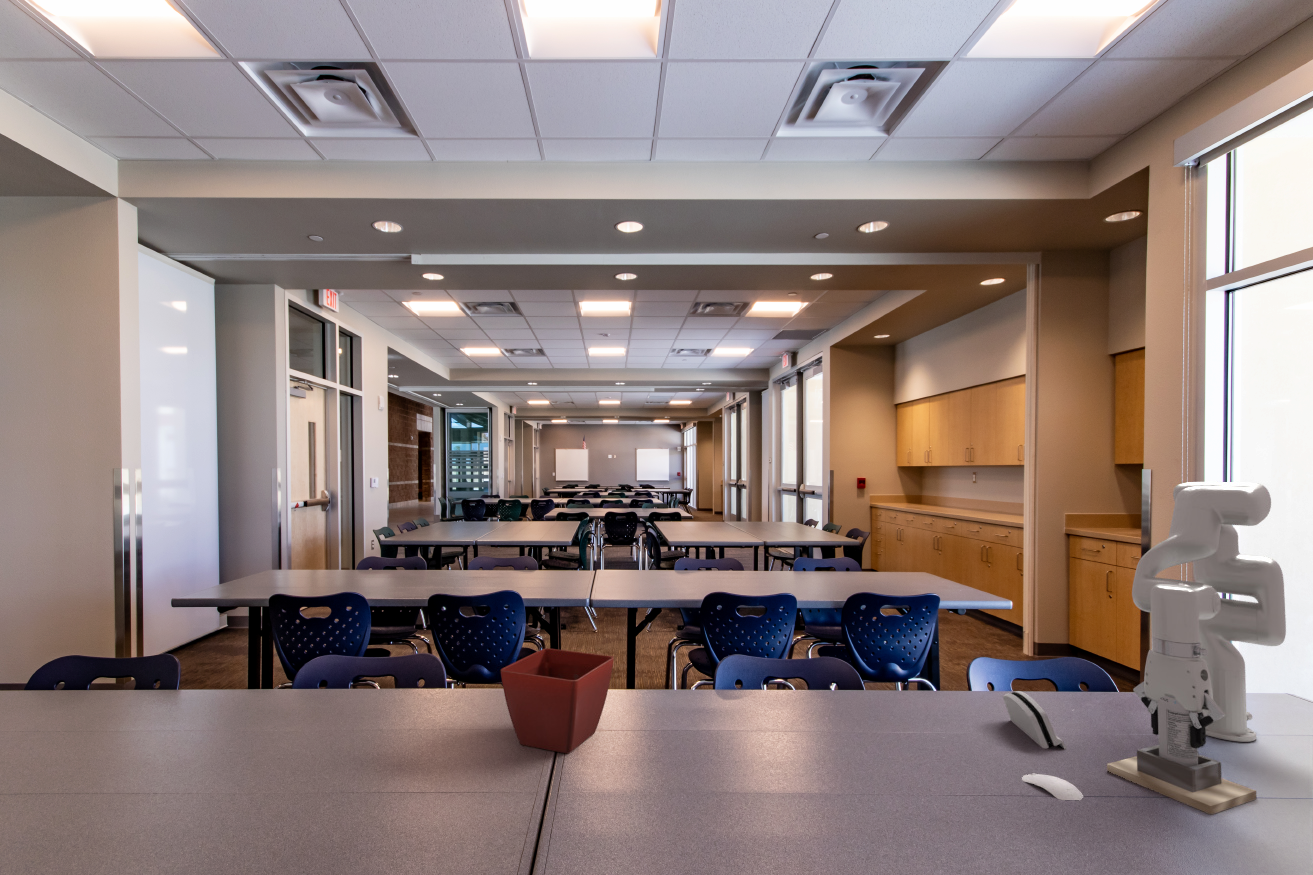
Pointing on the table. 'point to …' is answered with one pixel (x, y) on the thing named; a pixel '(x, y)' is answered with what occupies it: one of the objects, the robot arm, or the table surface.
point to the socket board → (1183, 780)
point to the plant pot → (556, 697)
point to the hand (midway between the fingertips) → (1177, 739)
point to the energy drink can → (1175, 732)
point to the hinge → (1031, 719)
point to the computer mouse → (1054, 786)
